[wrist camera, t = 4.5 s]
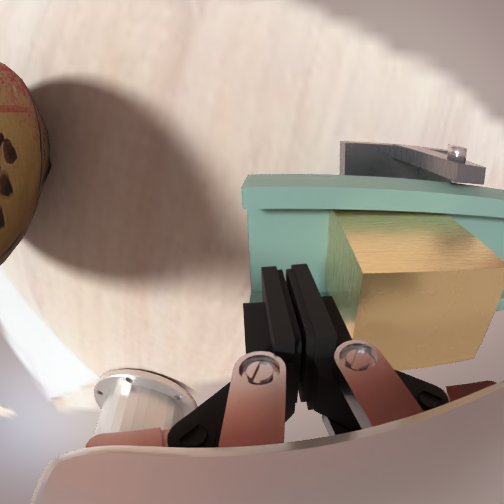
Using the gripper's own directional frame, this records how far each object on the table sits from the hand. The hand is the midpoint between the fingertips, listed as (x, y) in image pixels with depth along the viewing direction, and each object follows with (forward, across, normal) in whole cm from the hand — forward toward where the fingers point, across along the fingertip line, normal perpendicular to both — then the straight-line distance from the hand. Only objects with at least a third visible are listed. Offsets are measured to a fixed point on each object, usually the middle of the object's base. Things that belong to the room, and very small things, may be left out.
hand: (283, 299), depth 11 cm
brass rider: (+4, -6, 0) cm, 7 cm away
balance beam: (+5, -11, 0) cm, 12 cm away
